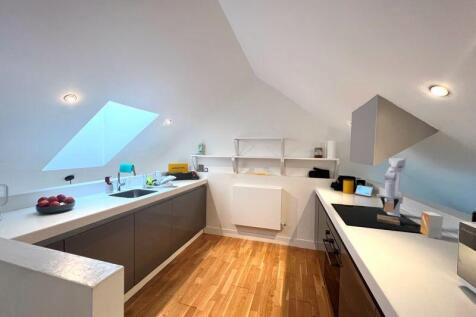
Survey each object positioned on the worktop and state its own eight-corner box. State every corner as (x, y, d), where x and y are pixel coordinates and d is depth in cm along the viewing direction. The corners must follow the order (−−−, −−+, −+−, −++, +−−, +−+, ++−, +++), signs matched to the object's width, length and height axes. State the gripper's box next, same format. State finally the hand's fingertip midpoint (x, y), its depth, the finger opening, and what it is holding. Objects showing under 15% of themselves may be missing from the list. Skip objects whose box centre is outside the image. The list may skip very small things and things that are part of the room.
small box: (419, 232, 124) (421, 210, 124) (432, 233, 122) (434, 212, 122) (427, 237, 116) (429, 214, 116) (441, 239, 115) (443, 216, 114)
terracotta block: (383, 209, 146) (384, 201, 146) (392, 211, 144) (393, 202, 143) (384, 211, 142) (384, 202, 142) (393, 212, 139) (393, 204, 139)
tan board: (377, 217, 151) (377, 214, 151) (397, 220, 145) (397, 217, 145) (377, 221, 141) (378, 218, 141) (399, 225, 135) (400, 222, 135)
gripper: (377, 189, 143) (376, 208, 143) (404, 191, 135) (402, 212, 135) (377, 187, 149) (376, 206, 149) (402, 190, 141) (401, 209, 141)
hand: (388, 208), depth 143 cm, fingers closed on terracotta block, 5 cm apart
